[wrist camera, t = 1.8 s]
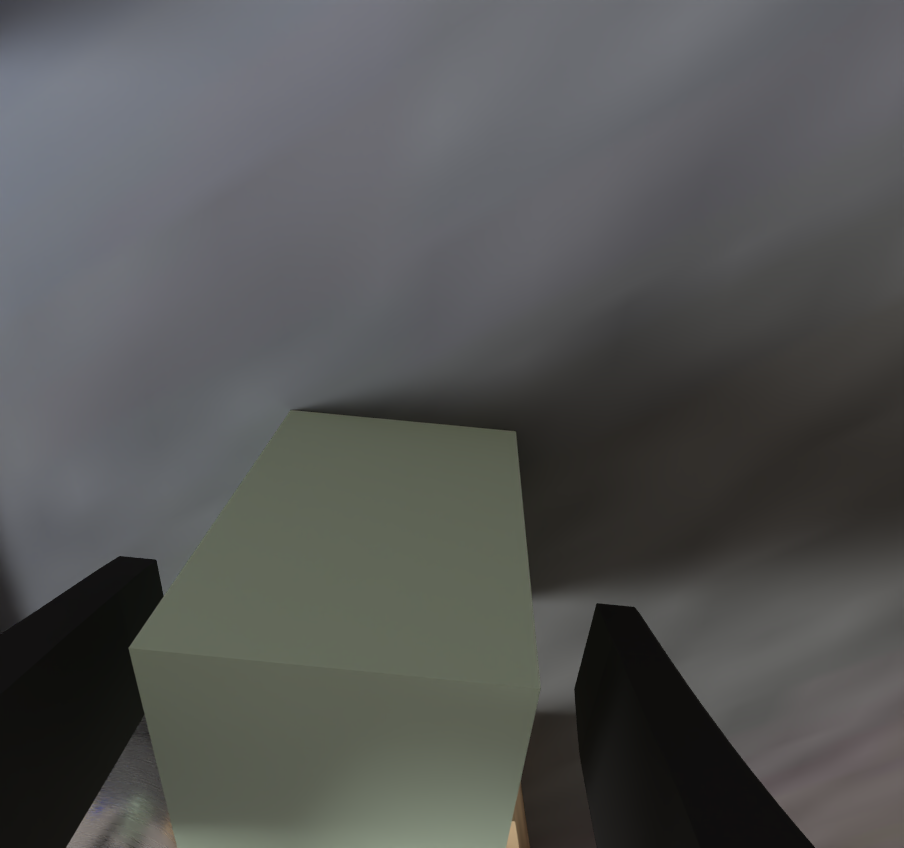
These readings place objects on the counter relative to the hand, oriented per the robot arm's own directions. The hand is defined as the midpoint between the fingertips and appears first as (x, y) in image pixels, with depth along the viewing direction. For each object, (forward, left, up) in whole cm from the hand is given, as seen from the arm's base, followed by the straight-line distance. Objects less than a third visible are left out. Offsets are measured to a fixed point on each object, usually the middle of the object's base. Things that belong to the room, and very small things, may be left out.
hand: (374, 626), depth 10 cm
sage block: (0, 0, -3) cm, 3 cm away
